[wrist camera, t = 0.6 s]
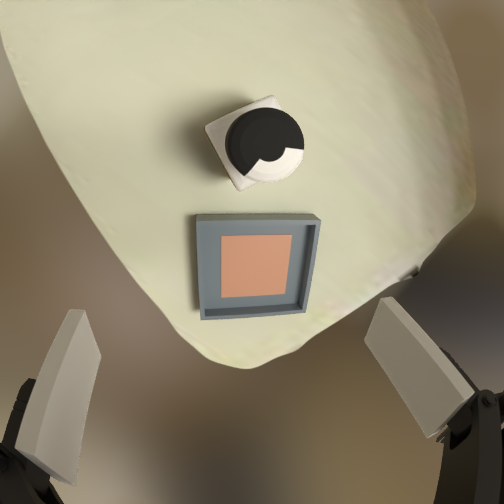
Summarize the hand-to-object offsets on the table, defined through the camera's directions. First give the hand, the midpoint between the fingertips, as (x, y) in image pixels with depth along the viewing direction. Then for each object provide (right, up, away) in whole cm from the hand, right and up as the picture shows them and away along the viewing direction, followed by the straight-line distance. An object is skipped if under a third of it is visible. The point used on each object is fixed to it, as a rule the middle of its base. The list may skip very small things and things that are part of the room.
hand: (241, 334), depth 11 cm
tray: (+1, +2, +26) cm, 26 cm away
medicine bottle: (-1, +16, +19) cm, 25 cm away
